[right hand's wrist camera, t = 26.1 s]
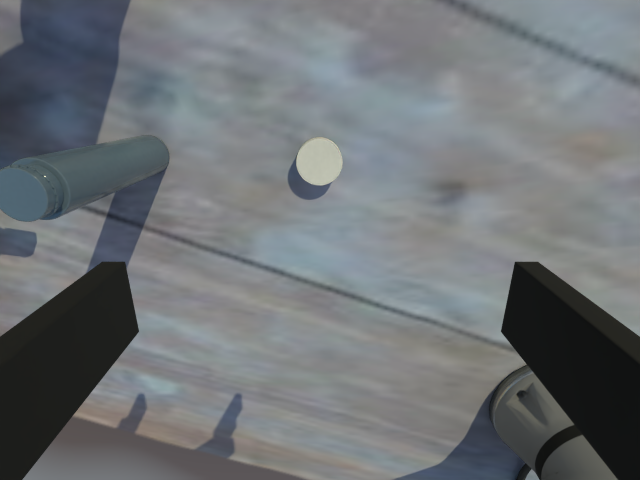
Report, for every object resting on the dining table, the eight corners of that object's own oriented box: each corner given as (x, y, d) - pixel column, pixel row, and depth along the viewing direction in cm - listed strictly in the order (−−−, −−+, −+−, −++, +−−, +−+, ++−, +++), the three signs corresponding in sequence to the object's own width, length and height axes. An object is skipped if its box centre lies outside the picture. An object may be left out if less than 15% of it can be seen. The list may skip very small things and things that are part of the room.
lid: (305, 187, 42) (305, 191, 40) (290, 145, 40) (289, 147, 38) (347, 174, 41) (348, 177, 39) (333, 131, 39) (334, 132, 38)
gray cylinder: (170, 139, 40) (52, 169, 22) (168, 177, 41) (55, 233, 24) (131, 131, 39) (-20, 154, 22) (130, 169, 41) (-13, 220, 23)
